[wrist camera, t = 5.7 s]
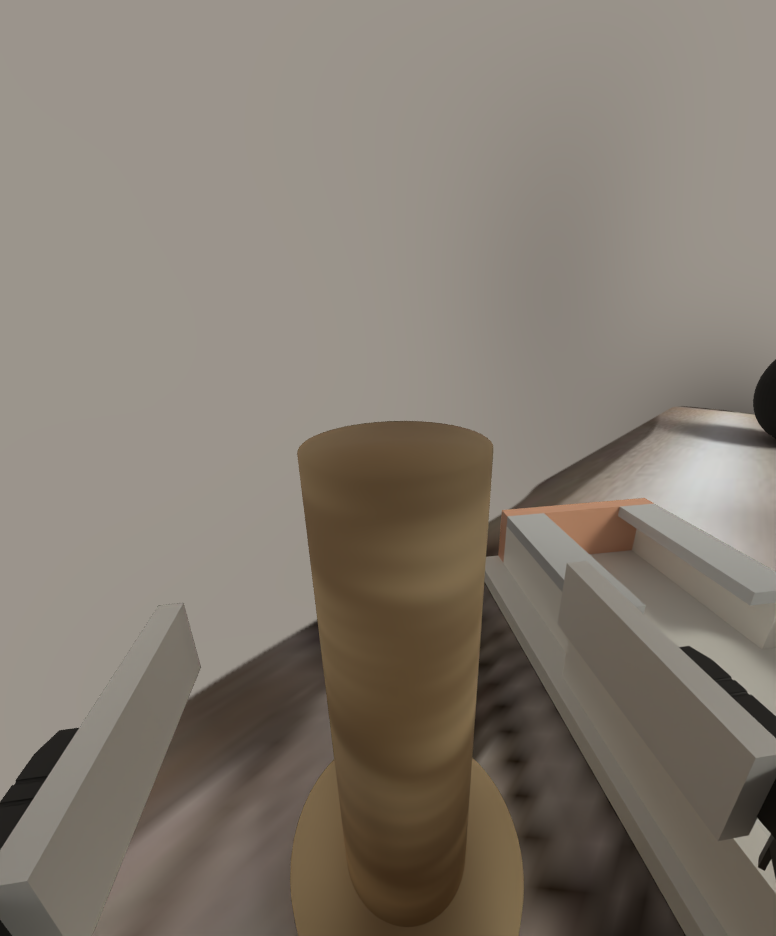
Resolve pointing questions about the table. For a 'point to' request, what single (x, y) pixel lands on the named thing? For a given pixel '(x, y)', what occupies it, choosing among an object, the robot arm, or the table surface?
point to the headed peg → (401, 691)
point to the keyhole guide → (598, 716)
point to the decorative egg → (766, 400)
